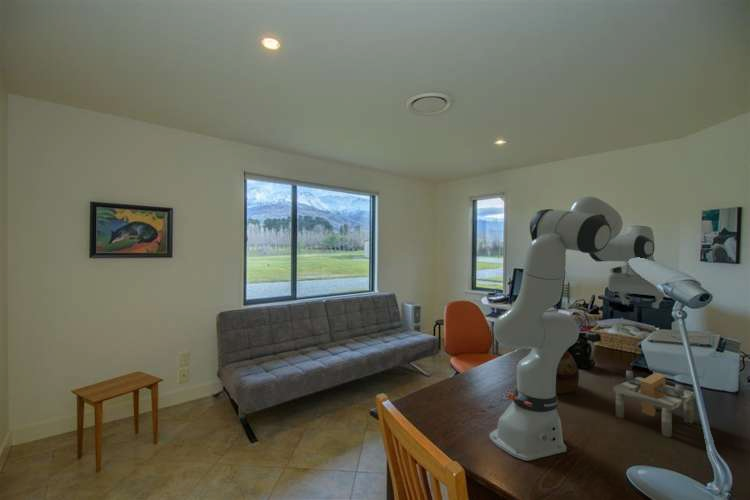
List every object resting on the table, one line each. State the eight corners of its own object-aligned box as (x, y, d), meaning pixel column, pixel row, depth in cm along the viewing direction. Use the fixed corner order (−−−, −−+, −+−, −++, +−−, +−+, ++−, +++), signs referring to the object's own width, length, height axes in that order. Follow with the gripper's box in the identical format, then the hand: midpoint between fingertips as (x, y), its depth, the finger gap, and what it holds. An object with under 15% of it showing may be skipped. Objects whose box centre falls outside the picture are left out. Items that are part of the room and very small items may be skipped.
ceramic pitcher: (530, 394, 131) (529, 321, 131) (523, 375, 150) (522, 311, 150) (586, 400, 125) (585, 323, 125) (570, 380, 145) (570, 313, 144)
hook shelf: (671, 438, 100) (670, 393, 100) (613, 415, 114) (612, 375, 114) (696, 422, 109) (695, 381, 108) (639, 402, 123) (639, 366, 123)
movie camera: (607, 363, 162) (604, 328, 162) (595, 374, 151) (592, 337, 150) (542, 351, 186) (540, 321, 186) (528, 360, 175) (525, 328, 174)
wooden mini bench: (655, 403, 115) (654, 373, 115) (666, 407, 112) (665, 376, 112) (642, 412, 111) (640, 380, 110) (652, 416, 108) (651, 384, 107)
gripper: (679, 270, 113) (679, 309, 113) (613, 267, 131) (614, 301, 131) (670, 271, 110) (671, 311, 110) (605, 268, 128) (605, 303, 129)
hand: (639, 306), depth 121 cm, fingers open, 8 cm apart
